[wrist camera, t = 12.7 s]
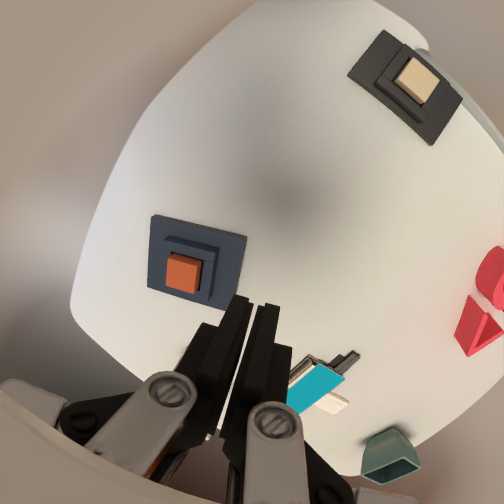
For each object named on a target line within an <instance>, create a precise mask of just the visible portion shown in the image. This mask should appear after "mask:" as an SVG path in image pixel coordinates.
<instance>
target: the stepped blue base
mask: <svg viewBox="0 0 504 504" xmlns="http://www.w3.org/2000/svg"><path fill="white" fill-rule="evenodd" d="M246 241H247V236H243V235H239V234H235V233H230V232H226V231H222V230H218V229H214V228H210V227H206V226H202V225H198V224H193V223H189V222H185V221H181V220H177V219H172V218H168V217H164V216H160V215H154V216H152V217H151V226H150V239H149V255H148V278H147V287H149V288H152V289H155V290H158V291H161V292H164V293H167V294H170V295H173V296H177V297H180V298H183V299H186V300H190V301H193V302H196V303H199V304H203V305H206V306H210V307H213V308H217V309H220V310H224V311H226V310H227V308H228V306H229V303H230V301H231V299H232V297H233V295H234V294H236V291H237V286H238V281H239V276H240V271H241V266H242V261H243V256H244V251H245V246H246ZM174 253H175V254H179V255H183V256H186V257H190V258H194V259H197V260H201V261H202V266H201V273H200V281H199V288H198V289H197V290H196V292H195V293H194V294H192V293H188V292H185V291H182V290H178V289H175V288H172V287H169V286H166V275H167V262H168V258H169V257H170V256H171V255H172V254H174Z"/></svg>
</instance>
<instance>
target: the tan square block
mask: <svg viewBox="0 0 504 504" xmlns="http://www.w3.org/2000/svg"><path fill="white" fill-rule="evenodd" d="M439 81H440V80H439V79H438V78H437V77H436V76H435V75H433V74H432V73H431V72H430V71H429V70H428V69H427V68H426V67H425V66H423V65H422V64H421V63H420V62H419V61H418V60H416V59H415V58H414V57H413V58H412V59H411V60H410V61H409V62H408V63H407V64H406V66H405V67H404V68H403V70H402V71H401V72H400V74H399V75H398V77H397V78H396V79H395V81H394V83H396V84H397V85H398V86H399V87H400V88H402V89H403V90H404V91H405V92H406V93H407V94H409V95H410V96H411V97H412V98H413V99H414V100H415V101H416V102H418V103H419V104H422V103H425V102H426V100H427V99H428V97H429V96H430V94H431V93H432V91H433V90H434V88H435V87H436V85H437V84H438V82H439Z"/></svg>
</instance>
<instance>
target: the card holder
mask: <svg viewBox="0 0 504 504" xmlns="http://www.w3.org/2000/svg"><path fill="white" fill-rule="evenodd" d="M355 354H356V352H354V351H352V352H351V353H350V354H349V355H348V356H346V357H343V356H342V355H340V354H339V355H338V356H337V357H336V358H335V359H334V360H333V361H331V362H330V363H329V364H328V365H327V366H325V365H326V364H324V363H323V362H321V361H319V360H318V359H316V358H314V357H313V356H311V355H308V356H307V357H305V358H304V359H303V360H302V361H301V362H300V363H299V364H298V365H297V366H295V367H294V368H293V369H292V370H291V371H290V376H289V385H288V393H287V402H286V405H288V406H290V407H291V408H293V409H294V410H295V411H296V412H297V413H298V414H300V413H301V412H303V411H304V410H306V409H307V408H308V407H310V406H311V405H314V406H316V407H318V408H320V409H322V410H324V411H326V412H329V413H331V414H333V415H334V414H336V413H337V412H339V411H340V410H341V409H343V408H344V407H346V406H347V405H349V401H347V400H345V399H343V398H341V397H340V396H338V395H336V394H334V393H332V392H330V391H331V390H333V389H334V388H335V387H336V386H338V385H339V384H340V383H341V382H343V381H344V379H345V378H344V377H343V376H341V375H342V374H343V373H344V372H345V371H347V370H348V369H349V368H350V367H351V366H352V365H353V364H354V363H355V362H357V361H358V360H359V359H360V357H359V356H360V355H359V354H356V355H355Z"/></svg>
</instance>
